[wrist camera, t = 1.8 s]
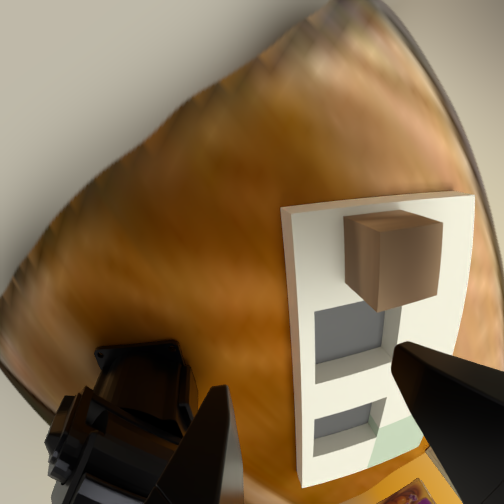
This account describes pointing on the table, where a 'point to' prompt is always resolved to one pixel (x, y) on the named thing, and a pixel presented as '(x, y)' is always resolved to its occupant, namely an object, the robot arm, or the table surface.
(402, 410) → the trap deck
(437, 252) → the walnut block
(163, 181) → the table surface
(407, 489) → the candy box
